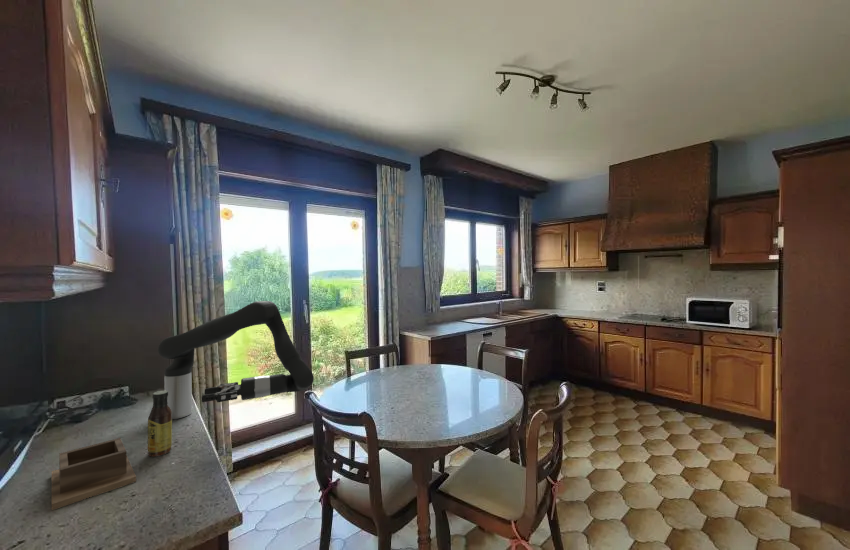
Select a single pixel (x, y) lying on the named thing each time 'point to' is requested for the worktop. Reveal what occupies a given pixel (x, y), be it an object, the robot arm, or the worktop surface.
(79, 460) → the walnut caddy
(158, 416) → the sauce bottle
